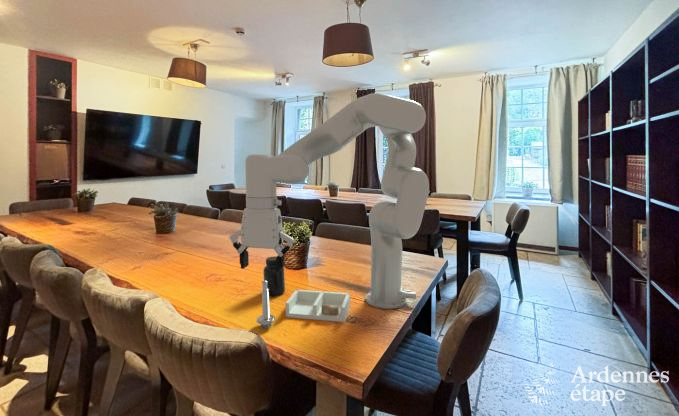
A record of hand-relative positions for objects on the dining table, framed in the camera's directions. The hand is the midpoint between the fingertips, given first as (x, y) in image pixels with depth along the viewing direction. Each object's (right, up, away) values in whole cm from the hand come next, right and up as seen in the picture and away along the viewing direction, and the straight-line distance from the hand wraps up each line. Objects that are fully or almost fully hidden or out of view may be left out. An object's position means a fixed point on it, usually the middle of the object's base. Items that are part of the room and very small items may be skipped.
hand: (262, 268), depth 87 cm
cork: (+18, -12, +8) cm, 23 cm away
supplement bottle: (-2, -13, +25) cm, 28 cm away
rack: (+14, -15, +11) cm, 23 cm away
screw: (+1, -16, +3) cm, 16 cm away
